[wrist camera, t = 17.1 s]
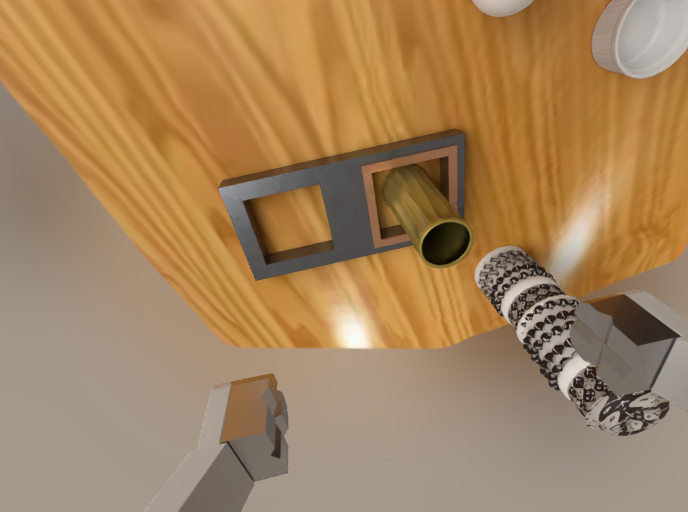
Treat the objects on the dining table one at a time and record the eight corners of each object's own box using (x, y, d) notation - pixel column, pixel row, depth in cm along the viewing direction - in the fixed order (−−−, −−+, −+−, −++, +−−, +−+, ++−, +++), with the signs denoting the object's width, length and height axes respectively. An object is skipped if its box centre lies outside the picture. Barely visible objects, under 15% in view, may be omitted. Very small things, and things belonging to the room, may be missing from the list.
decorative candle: (480, 242, 50) (620, 391, 29) (538, 242, 51) (713, 384, 30) (464, 293, 54) (574, 452, 33) (518, 292, 56) (656, 443, 35)
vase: (394, 218, 46) (428, 282, 34) (373, 180, 43) (403, 236, 31) (436, 194, 45) (487, 252, 33) (417, 154, 41) (466, 202, 29)
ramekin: (578, 12, 36) (610, 9, 32) (664, -45, 34) (709, -55, 31) (591, 91, 40) (621, 96, 37) (668, 44, 39) (707, 45, 35)
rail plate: (222, 180, 40) (217, 189, 38) (455, 128, 40) (465, 134, 38) (257, 270, 47) (255, 282, 45) (456, 225, 48) (464, 234, 45)
